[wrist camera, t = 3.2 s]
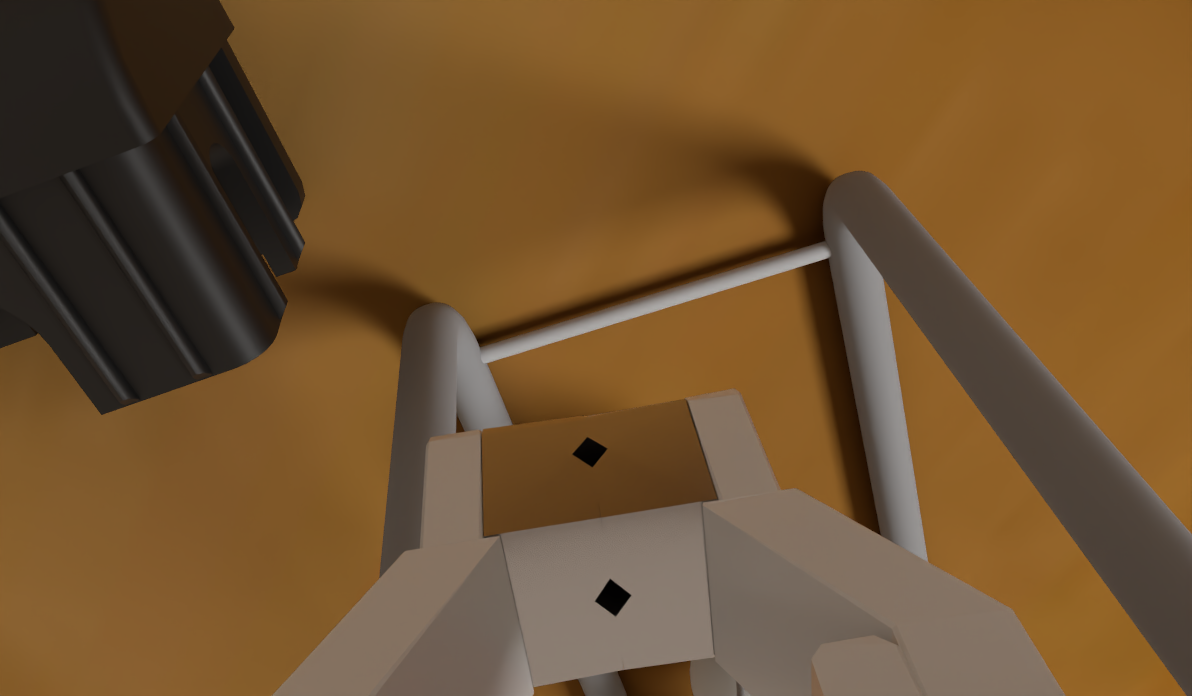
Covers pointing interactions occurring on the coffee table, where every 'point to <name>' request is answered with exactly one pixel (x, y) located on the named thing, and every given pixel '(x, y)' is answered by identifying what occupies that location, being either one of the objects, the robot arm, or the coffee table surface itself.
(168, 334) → the end cap
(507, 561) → the robot arm
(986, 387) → the newton's cradle
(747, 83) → the coffee table surface
